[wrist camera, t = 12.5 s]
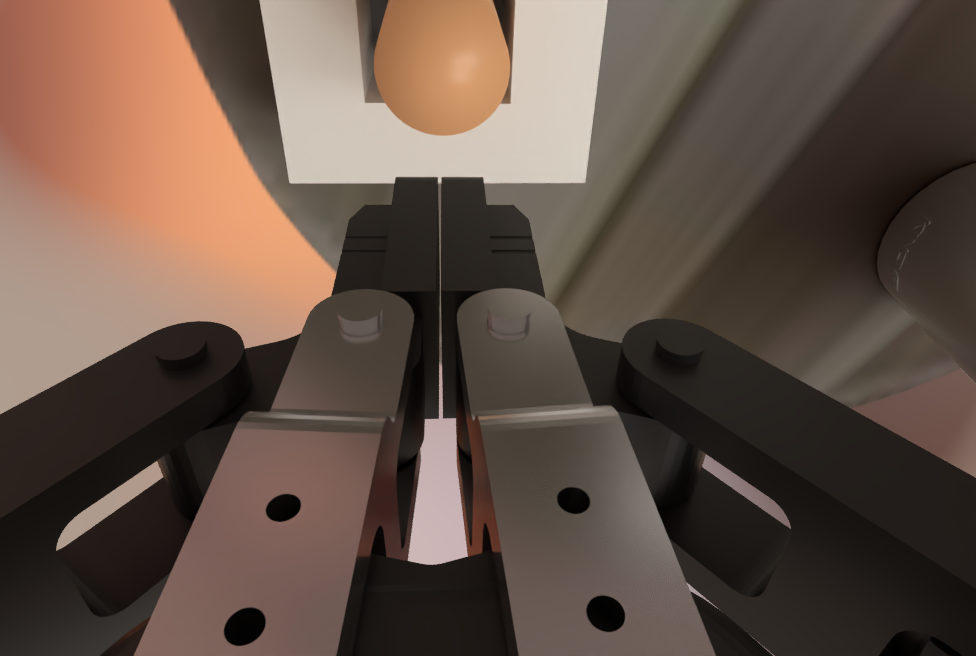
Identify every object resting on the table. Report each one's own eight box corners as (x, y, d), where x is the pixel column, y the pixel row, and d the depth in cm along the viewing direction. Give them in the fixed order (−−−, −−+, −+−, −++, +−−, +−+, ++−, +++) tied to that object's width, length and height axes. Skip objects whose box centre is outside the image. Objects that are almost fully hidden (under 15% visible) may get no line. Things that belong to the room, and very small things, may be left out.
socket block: (593, -183, 25) (630, -183, 20) (563, 129, 32) (585, 183, 28) (268, -194, 24) (226, -198, 20) (312, 128, 32) (289, 183, 27)
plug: (489, -59, 26) (511, -7, 18) (489, 48, 29) (509, 134, 21) (387, -57, 26) (366, -4, 18) (396, 49, 29) (380, 137, 21)
